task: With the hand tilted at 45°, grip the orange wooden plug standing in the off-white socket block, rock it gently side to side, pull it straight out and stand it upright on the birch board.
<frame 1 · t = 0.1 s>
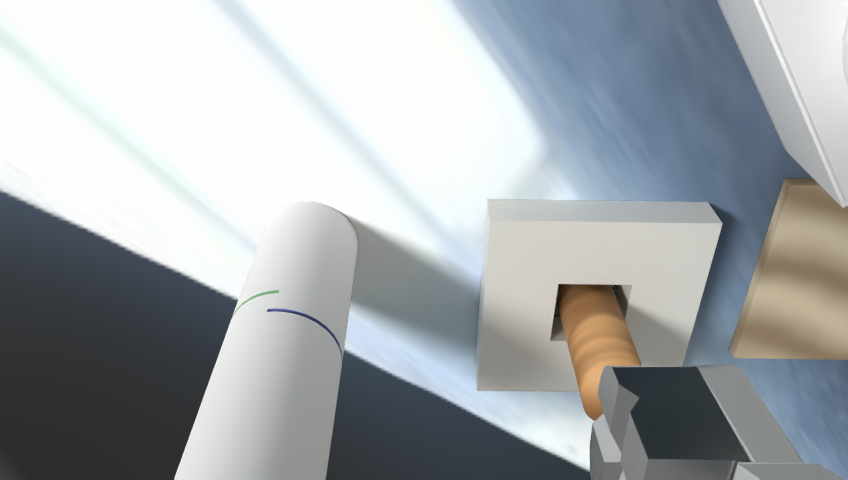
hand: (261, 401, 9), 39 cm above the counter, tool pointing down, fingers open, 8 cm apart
socket block: (582, 289, 56), on the counter
plug: (598, 339, 51), in the socket block
cylindrical container: (310, 241, 54), on the counter
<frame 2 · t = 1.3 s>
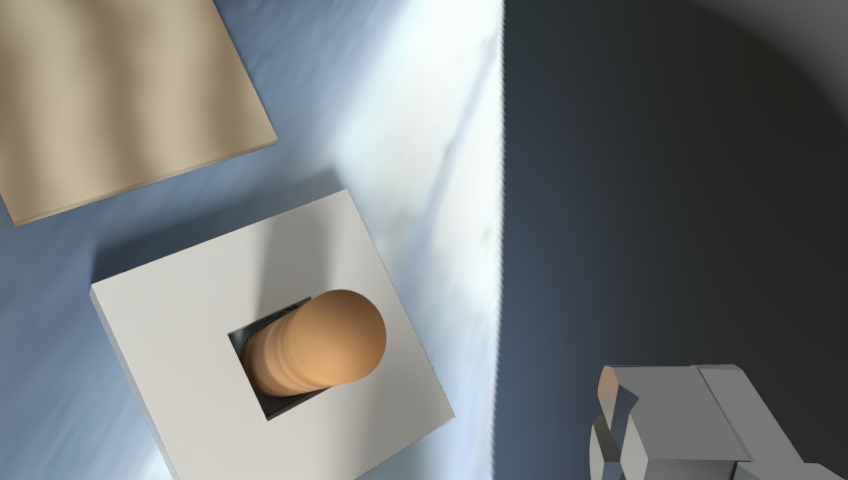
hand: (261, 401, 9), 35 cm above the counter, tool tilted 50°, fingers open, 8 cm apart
board: (102, 64, 44), on the counter
socket block: (276, 361, 44), on the counter
plug: (305, 350, 39), in the socket block
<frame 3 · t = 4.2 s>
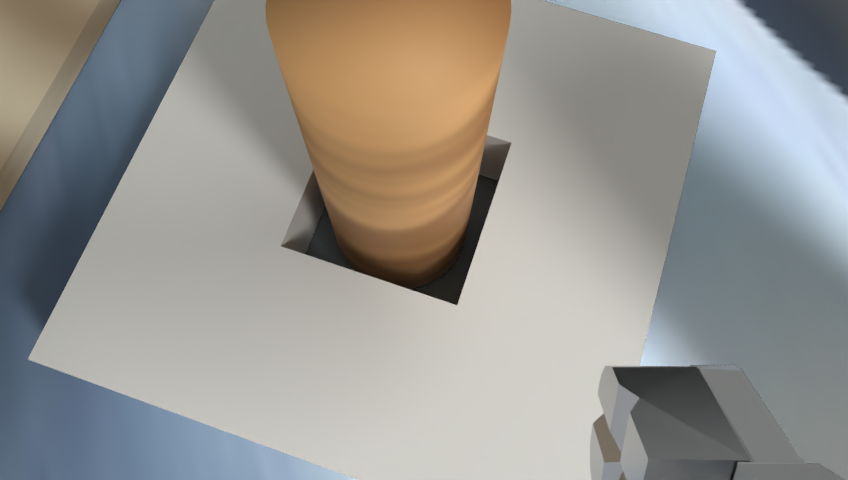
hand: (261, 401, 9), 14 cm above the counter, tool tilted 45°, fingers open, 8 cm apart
socket block: (401, 226, 24), on the counter
plug: (396, 149, 18), in the socket block
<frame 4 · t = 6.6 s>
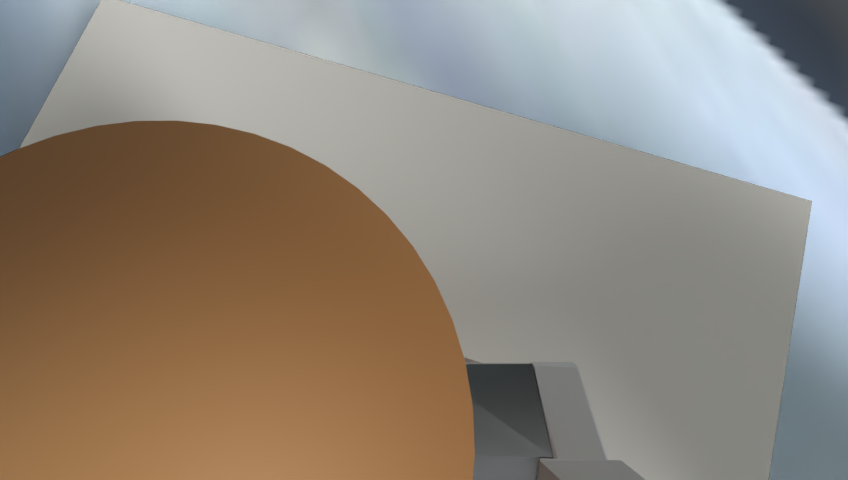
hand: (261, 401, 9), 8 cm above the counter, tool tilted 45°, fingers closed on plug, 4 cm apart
socket block: (330, 466, 16), on the counter
plug: (284, 458, 10), in the socket block, touching gripper
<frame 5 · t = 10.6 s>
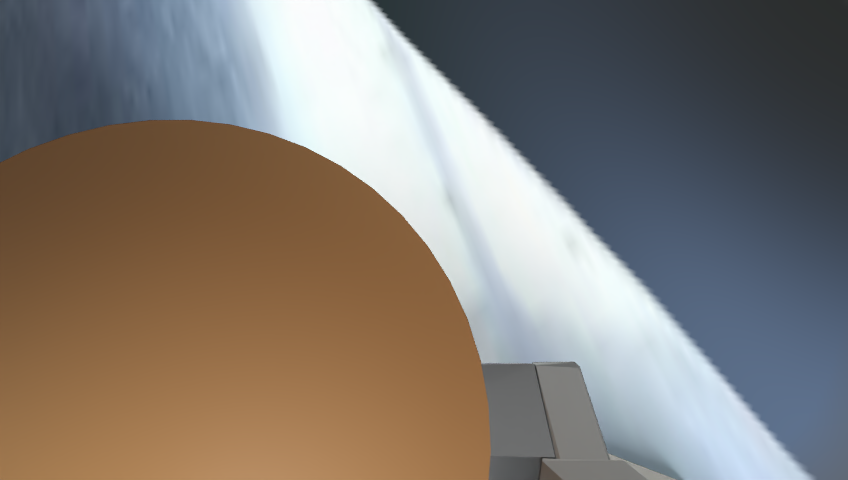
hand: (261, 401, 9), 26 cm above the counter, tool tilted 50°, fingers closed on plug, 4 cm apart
plug: (285, 455, 10), point 24 cm above the counter, tilted 7°, touching gripper
when the fingers open (10 cm above the counter, at t = 14.6 s): plug drops 2 cm, resting on board.
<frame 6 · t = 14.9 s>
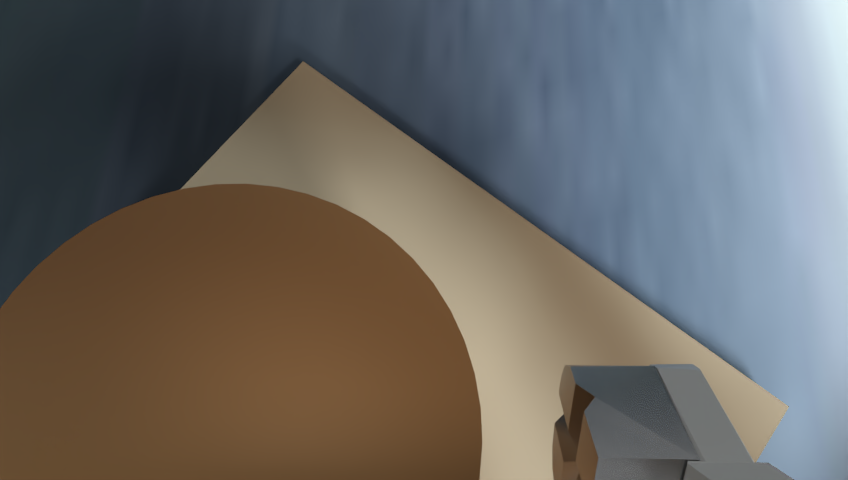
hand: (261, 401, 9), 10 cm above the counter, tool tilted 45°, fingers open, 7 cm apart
board: (341, 466, 18), on the counter
plug: (314, 451, 12), on the board, point 7 cm above the counter
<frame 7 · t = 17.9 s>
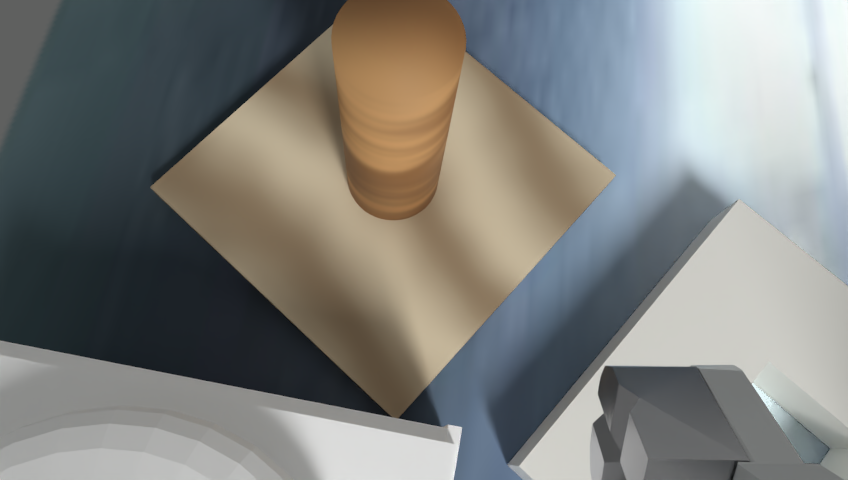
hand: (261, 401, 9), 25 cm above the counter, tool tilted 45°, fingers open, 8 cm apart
board: (387, 188, 36), on the counter
socket block: (750, 452, 33), on the counter
plug: (395, 121, 29), on the board, point 7 cm above the counter
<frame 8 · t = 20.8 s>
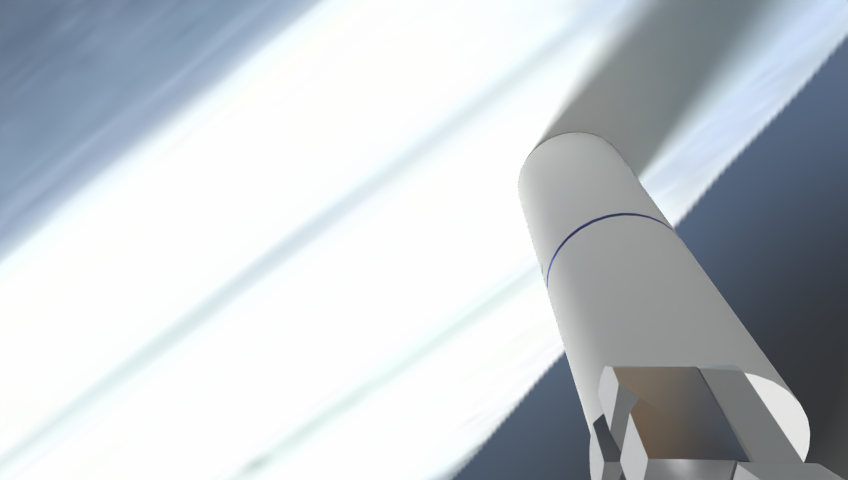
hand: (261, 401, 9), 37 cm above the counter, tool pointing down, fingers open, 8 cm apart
cylindrical container: (571, 182, 47), on the counter
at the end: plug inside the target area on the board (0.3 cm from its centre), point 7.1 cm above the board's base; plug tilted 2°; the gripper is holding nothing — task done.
